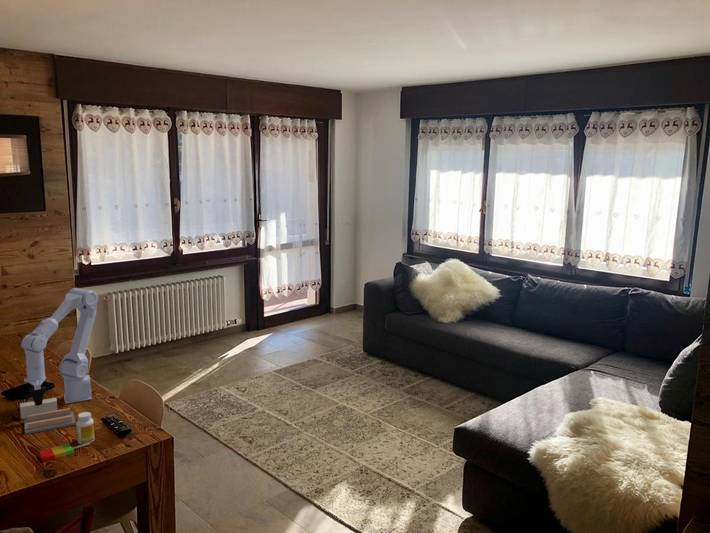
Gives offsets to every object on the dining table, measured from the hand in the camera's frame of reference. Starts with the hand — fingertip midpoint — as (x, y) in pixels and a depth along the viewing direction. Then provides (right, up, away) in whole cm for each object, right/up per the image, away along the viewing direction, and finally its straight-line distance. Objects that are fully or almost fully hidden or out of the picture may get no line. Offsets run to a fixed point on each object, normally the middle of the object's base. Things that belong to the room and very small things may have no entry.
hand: (38, 401), depth 217 cm
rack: (+7, -7, -6) cm, 12 cm away
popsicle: (+22, -12, -24) cm, 35 cm away
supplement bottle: (+26, -10, -17) cm, 32 cm away
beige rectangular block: (0, -5, +1) cm, 6 cm away
